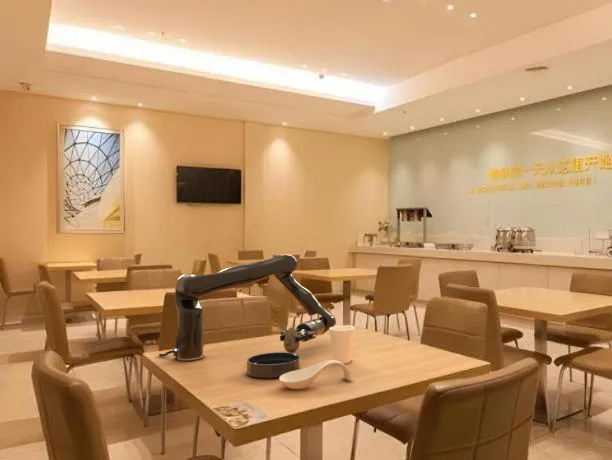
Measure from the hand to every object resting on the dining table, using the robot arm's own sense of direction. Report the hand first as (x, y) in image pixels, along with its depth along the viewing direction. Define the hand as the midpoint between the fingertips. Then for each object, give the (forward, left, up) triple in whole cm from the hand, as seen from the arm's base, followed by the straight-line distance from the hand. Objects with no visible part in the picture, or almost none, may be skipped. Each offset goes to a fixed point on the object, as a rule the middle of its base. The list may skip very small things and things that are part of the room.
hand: (288, 338), depth 205 cm
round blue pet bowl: (+2, -15, -9) cm, 18 cm away
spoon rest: (+23, -25, -9) cm, 35 cm away
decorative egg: (0, +2, -6) cm, 7 cm away
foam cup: (+20, +5, -9) cm, 23 cm away
